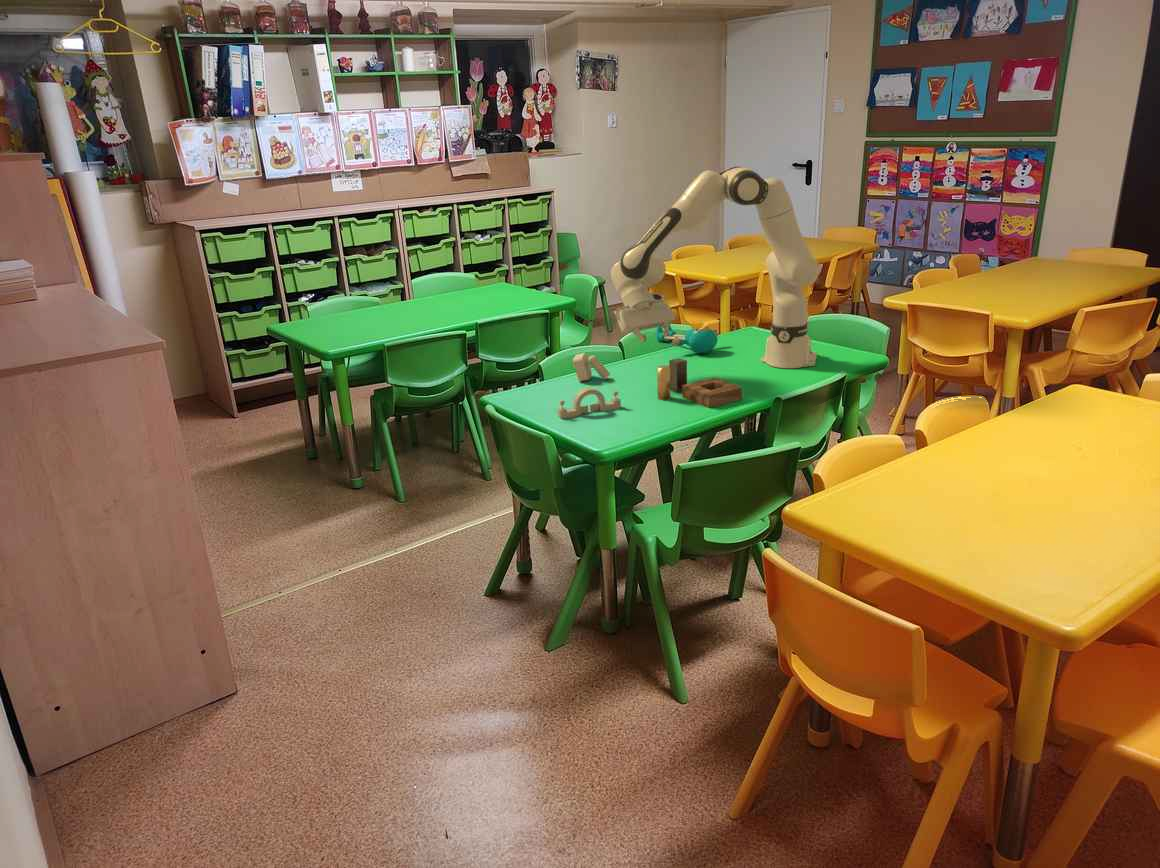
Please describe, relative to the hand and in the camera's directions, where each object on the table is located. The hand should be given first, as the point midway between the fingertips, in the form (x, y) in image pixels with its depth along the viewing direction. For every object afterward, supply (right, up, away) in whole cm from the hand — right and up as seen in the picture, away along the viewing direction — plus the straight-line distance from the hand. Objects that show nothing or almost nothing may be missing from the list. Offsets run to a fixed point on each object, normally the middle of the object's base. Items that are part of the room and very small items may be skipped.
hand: (656, 338), depth 265 cm
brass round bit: (+2, -20, -11) cm, 23 cm away
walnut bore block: (+16, -20, -14) cm, 29 cm away
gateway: (-22, -25, -19) cm, 39 cm away
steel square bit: (+7, -17, -4) cm, 19 cm away
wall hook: (-21, -13, +12) cm, 27 cm away
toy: (+15, +1, +44) cm, 47 cm away
